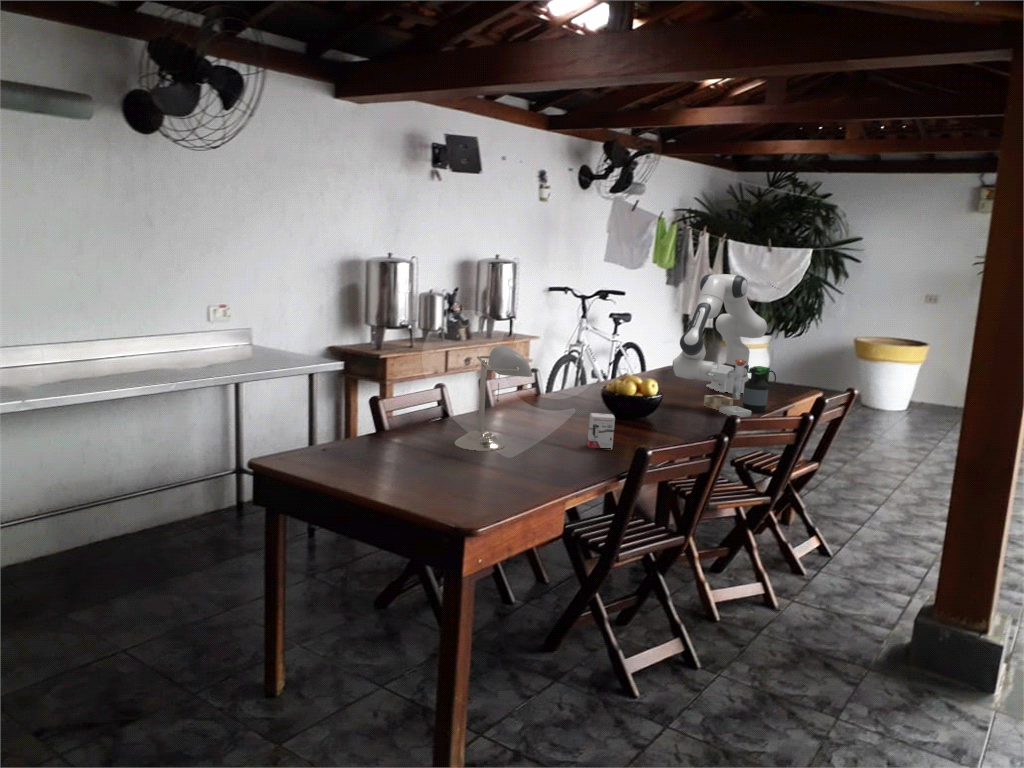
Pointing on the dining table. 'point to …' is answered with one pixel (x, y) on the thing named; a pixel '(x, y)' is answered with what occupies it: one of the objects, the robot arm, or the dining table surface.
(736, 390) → the pin
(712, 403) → the block
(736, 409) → the tray
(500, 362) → the lamp
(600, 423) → the ink box
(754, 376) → the grenade
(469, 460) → the dining table surface
